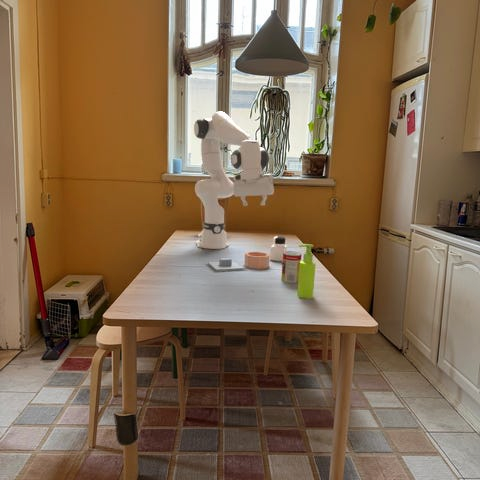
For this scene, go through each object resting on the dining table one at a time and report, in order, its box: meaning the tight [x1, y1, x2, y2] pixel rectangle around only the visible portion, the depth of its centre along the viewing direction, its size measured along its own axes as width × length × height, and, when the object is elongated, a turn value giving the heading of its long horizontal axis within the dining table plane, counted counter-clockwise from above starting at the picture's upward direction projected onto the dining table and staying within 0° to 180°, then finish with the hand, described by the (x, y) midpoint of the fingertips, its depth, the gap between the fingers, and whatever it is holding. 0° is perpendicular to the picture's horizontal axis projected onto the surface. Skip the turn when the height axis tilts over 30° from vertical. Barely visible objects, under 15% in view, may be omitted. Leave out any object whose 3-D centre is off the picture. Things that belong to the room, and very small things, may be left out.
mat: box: [204, 263, 248, 274], centre depth 190 cm, size 16×16×1 cm
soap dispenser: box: [296, 243, 317, 299], centre depth 153 cm, size 6×7×20 cm
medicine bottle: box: [269, 235, 288, 262], centre depth 211 cm, size 7×7×12 cm
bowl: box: [244, 251, 270, 270], centre depth 195 cm, size 11×11×6 cm
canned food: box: [280, 250, 303, 284], centre depth 173 cm, size 8×8×12 cm
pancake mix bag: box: [200, 197, 230, 233], centre depth 272 cm, size 7×19×28 cm, turn 94°
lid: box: [207, 257, 244, 273], centre depth 189 cm, size 13×13×4 cm
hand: (254, 205), depth 188 cm, fingers open, 8 cm apart
